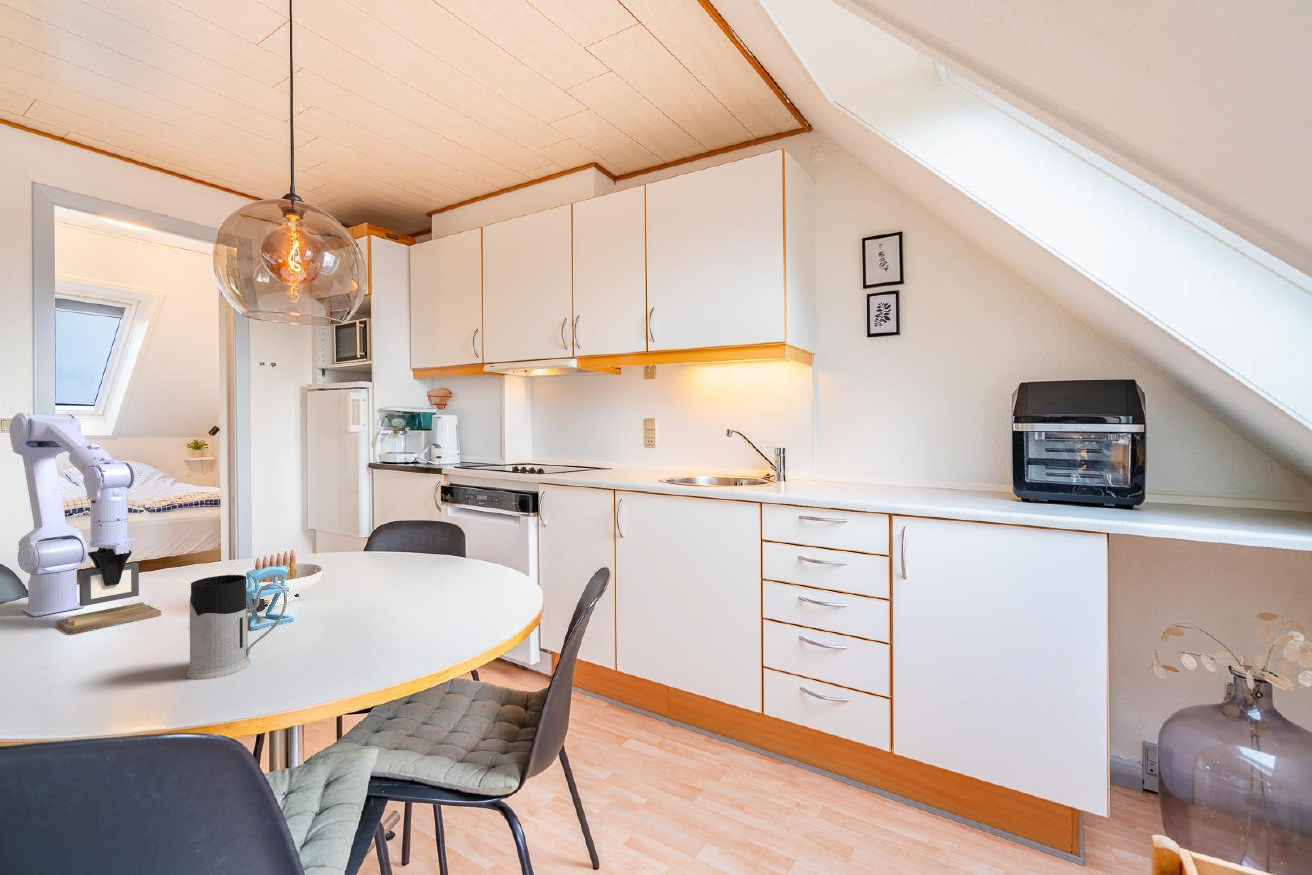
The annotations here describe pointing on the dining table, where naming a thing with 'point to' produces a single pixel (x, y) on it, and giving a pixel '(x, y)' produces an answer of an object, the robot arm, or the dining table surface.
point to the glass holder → (221, 626)
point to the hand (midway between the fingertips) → (110, 584)
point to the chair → (269, 590)
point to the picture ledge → (107, 617)
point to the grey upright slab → (97, 592)
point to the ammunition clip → (290, 575)
